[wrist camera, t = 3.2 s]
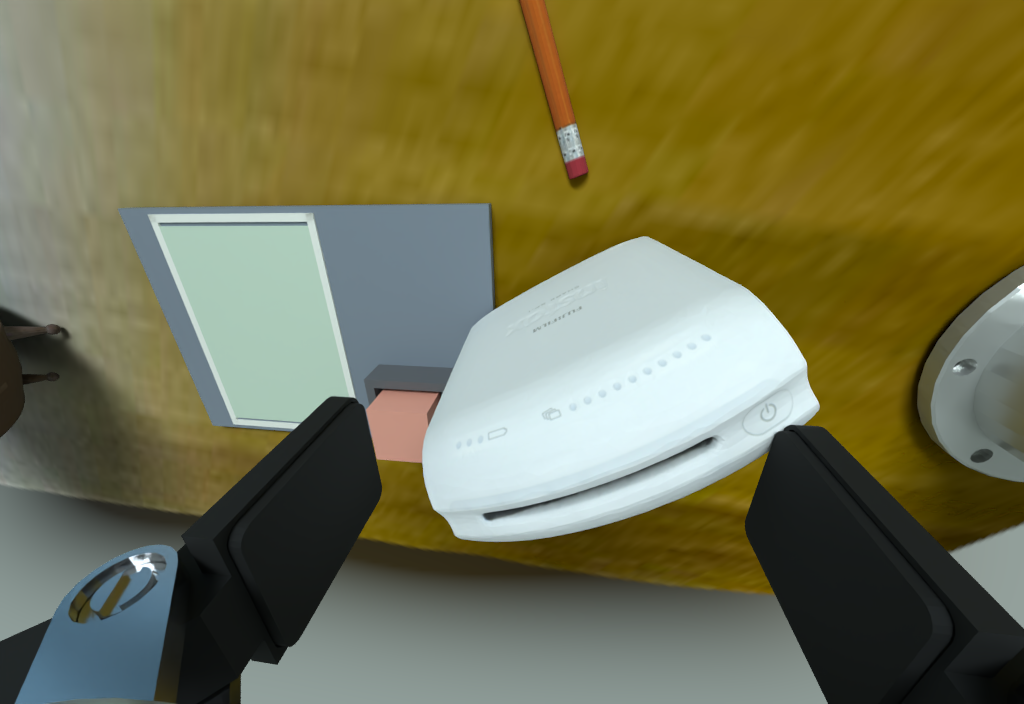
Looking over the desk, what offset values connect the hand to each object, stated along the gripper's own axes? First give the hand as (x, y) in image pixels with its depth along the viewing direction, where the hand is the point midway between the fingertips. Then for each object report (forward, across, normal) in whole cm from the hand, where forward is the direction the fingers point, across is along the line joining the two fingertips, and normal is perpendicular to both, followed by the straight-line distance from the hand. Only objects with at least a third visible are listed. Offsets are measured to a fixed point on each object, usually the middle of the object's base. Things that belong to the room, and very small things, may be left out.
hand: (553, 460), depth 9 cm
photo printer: (+12, 0, 0) cm, 12 cm away
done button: (+10, +8, +6) cm, 14 cm away
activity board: (+12, +14, +2) cm, 18 cm away
